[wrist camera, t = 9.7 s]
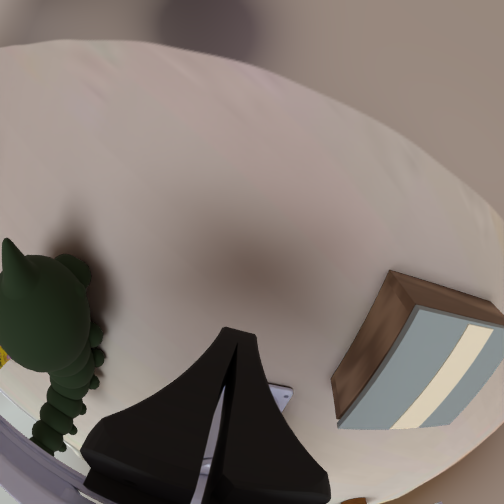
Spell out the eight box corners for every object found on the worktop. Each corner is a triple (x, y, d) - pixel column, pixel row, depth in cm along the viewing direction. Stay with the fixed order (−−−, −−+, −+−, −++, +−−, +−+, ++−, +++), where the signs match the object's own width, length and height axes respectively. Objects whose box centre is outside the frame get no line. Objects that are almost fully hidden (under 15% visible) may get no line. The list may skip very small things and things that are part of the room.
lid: (447, 420, 18) (449, 425, 17) (337, 423, 18) (337, 429, 18) (516, 328, 14) (520, 332, 13) (415, 304, 14) (420, 310, 13)
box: (433, 387, 23) (446, 417, 19) (330, 378, 23) (336, 419, 19) (490, 301, 19) (515, 327, 14) (389, 269, 19) (415, 303, 14)
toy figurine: (123, 387, 30) (125, 213, 19) (68, 499, 13) (-77, 404, 2) (68, 356, 30) (46, 184, 18) (5, 452, 13) (-121, 293, 1)
